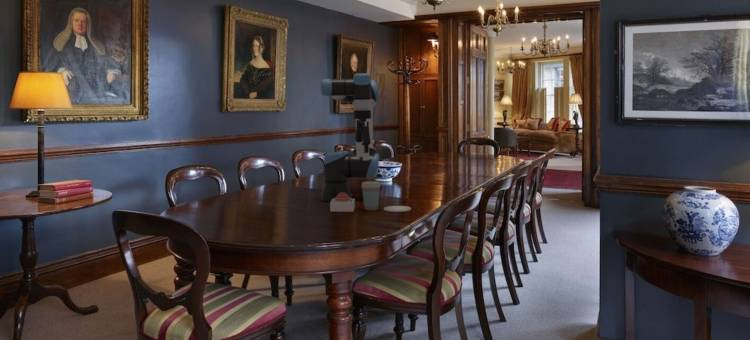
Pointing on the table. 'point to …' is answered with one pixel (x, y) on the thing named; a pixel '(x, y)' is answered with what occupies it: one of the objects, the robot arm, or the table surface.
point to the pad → (397, 208)
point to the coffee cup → (370, 194)
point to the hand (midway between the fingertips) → (362, 158)
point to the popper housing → (342, 206)
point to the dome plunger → (342, 198)
